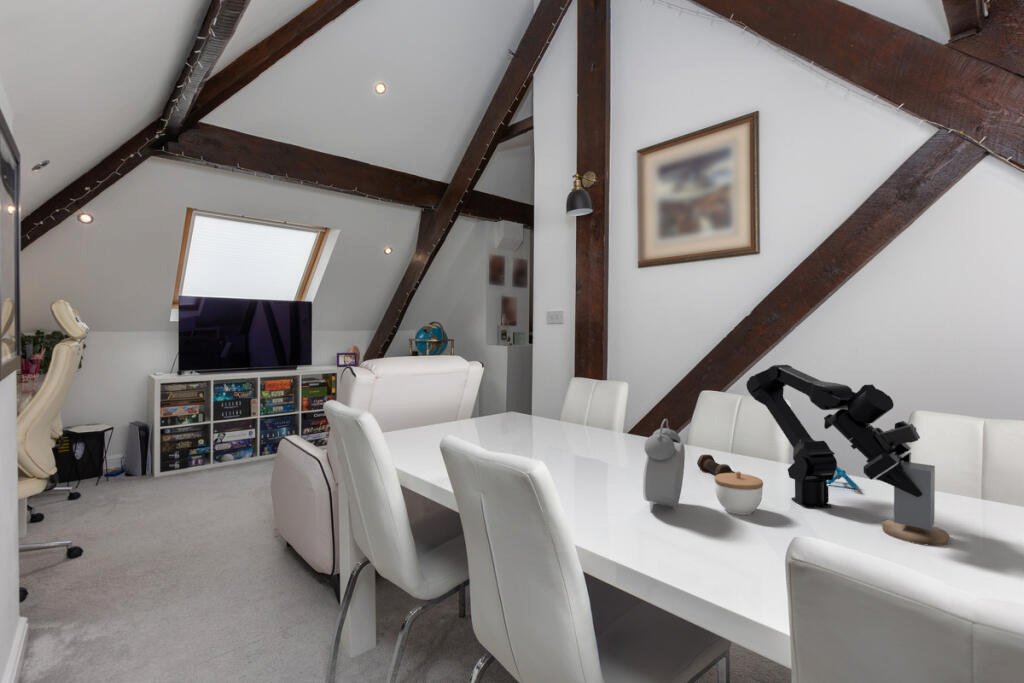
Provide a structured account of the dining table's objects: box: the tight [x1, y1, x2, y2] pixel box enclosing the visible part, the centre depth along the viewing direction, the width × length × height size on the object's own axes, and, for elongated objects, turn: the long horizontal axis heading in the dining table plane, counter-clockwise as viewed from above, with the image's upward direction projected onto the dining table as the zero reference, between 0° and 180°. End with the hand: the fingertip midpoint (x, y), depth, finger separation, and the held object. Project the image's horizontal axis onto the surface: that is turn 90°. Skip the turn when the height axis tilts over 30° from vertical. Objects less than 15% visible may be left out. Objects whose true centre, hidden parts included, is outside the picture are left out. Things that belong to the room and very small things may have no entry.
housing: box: [893, 461, 936, 530], centre depth 107 cm, size 6×6×12 cm
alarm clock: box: [642, 418, 686, 512], centre depth 125 cm, size 16×9×22 cm, turn 154°
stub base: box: [881, 518, 950, 546], centre depth 107 cm, size 11×11×5 cm
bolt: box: [696, 454, 736, 476], centre depth 152 cm, size 6×5×15 cm
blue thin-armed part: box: [827, 466, 859, 489], centre depth 142 cm, size 11×6×10 cm
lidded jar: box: [714, 471, 764, 516], centre depth 122 cm, size 11×11×9 cm
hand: (922, 492), depth 106 cm, fingers closed on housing, 6 cm apart
